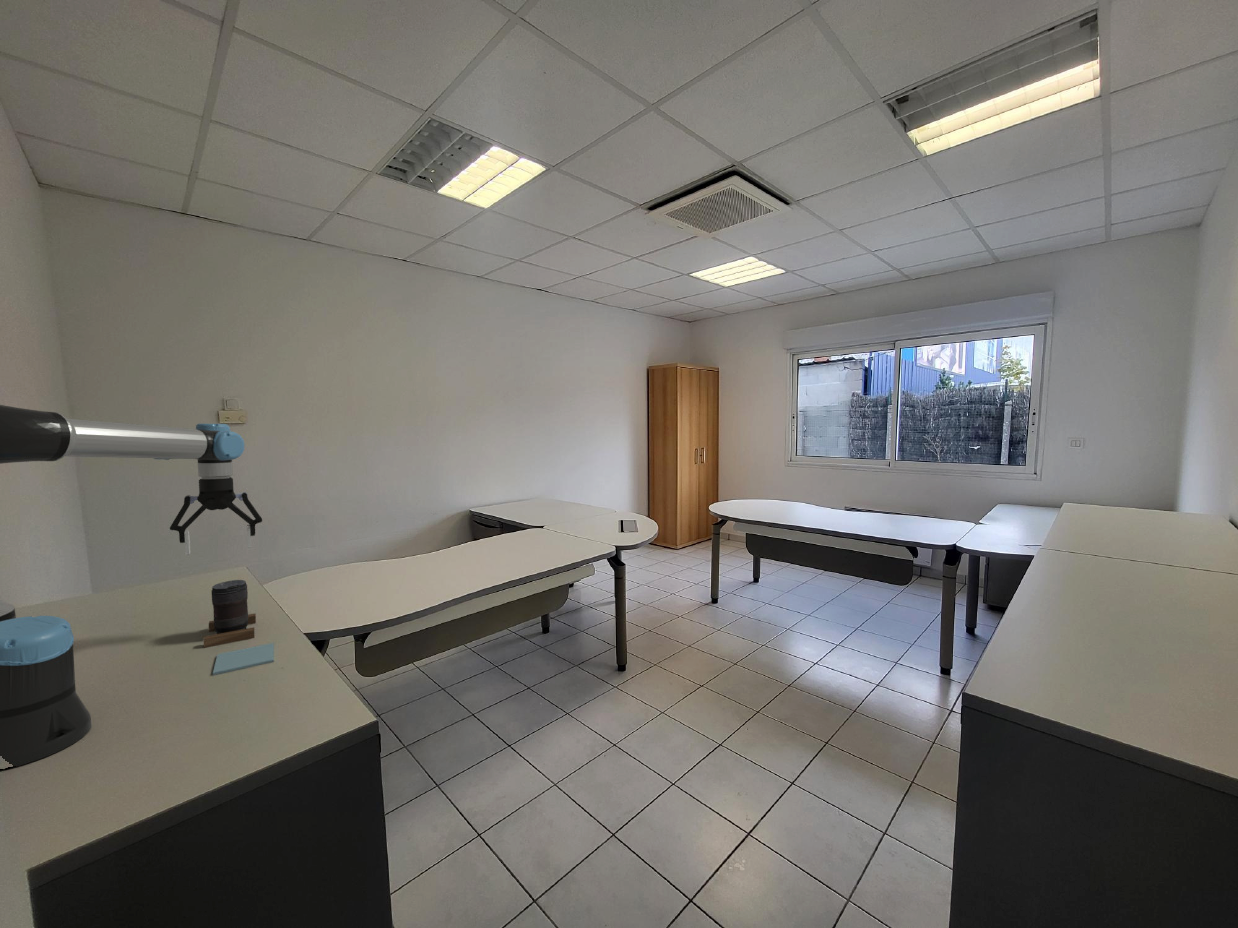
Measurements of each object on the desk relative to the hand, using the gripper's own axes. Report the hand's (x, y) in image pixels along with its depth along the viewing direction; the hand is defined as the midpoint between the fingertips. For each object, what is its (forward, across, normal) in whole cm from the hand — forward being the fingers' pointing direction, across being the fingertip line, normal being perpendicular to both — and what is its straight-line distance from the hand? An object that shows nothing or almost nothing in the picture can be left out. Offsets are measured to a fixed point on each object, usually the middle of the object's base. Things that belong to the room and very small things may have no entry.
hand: (219, 550), depth 137 cm
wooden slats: (+25, -2, +1) cm, 25 cm away
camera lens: (+25, -2, +1) cm, 25 cm away
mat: (+25, -5, +23) cm, 34 cm away
